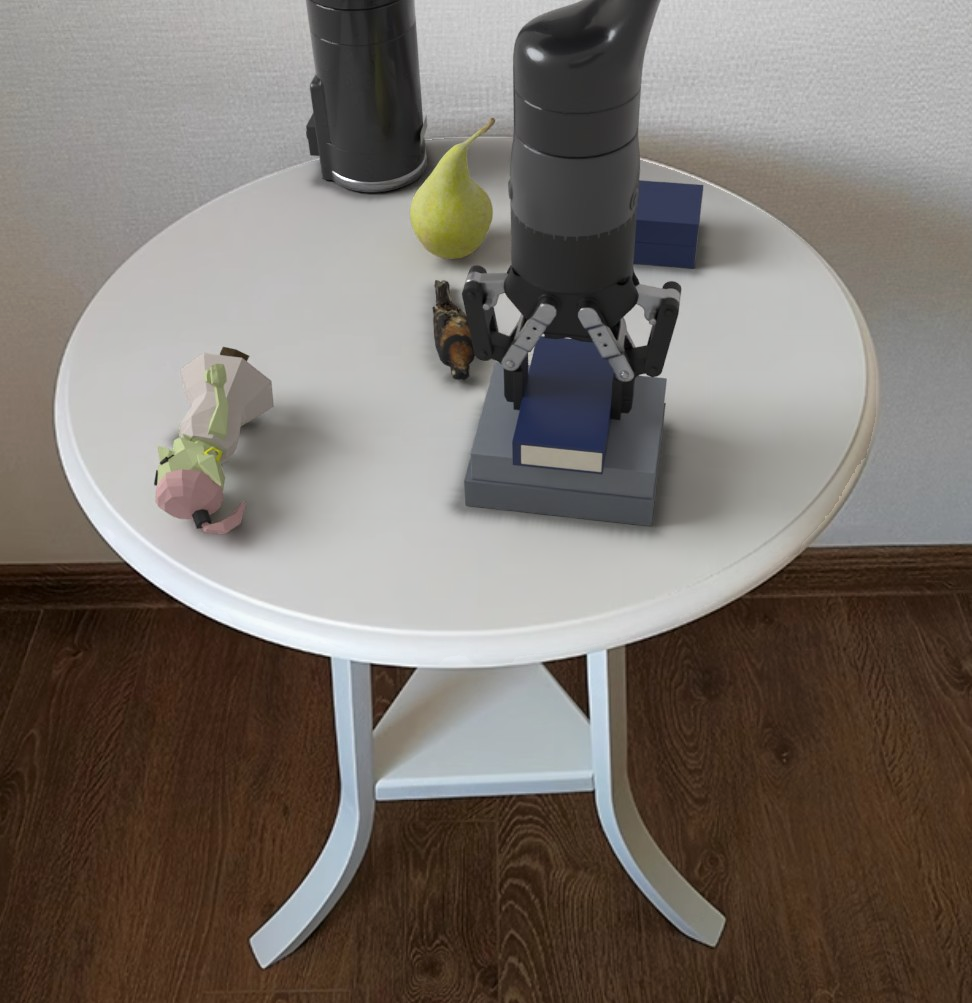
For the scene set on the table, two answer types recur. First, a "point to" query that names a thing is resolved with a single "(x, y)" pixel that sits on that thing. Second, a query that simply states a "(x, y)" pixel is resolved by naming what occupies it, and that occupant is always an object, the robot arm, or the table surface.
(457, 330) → the bird model
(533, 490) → the grey stack
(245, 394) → the figurine
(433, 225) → the fruit
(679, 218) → the navy stack
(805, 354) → the table surface
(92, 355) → the table surface
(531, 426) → the navy book
